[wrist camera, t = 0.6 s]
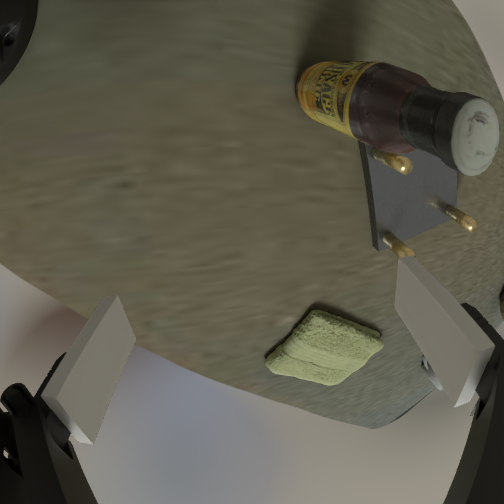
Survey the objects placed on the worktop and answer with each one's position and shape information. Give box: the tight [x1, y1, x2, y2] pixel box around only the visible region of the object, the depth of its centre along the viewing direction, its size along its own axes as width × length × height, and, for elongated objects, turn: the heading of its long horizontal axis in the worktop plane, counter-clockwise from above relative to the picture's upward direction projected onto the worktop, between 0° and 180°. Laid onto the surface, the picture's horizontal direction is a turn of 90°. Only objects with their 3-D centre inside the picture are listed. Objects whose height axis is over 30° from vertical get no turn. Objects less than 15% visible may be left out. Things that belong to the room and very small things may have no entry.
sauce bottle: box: [296, 61, 499, 176], centre depth 19 cm, size 6×6×20 cm
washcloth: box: [265, 309, 384, 385], centre depth 45 cm, size 13×18×3 cm
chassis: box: [358, 141, 477, 258], centre depth 31 cm, size 14×14×6 cm
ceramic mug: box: [422, 356, 443, 391], centre depth 54 cm, size 11×8×8 cm
